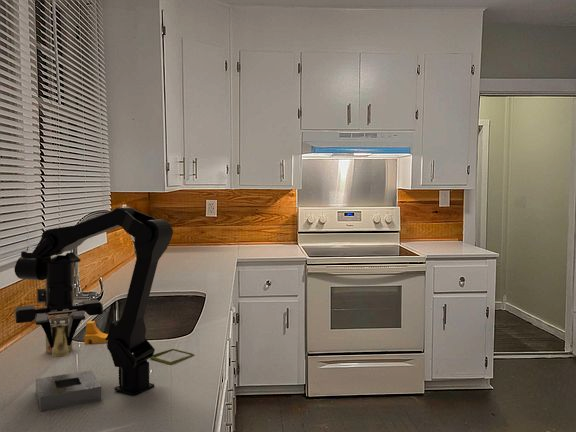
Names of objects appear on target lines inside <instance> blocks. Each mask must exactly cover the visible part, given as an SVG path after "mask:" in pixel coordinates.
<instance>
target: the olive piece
mask: <svg viewBox="0 0 576 432" xmlns="http://www.w3.org/2000/svg"><path fill="white" fill-rule="evenodd" d="M172 351H174V352H178V353H182V354H185V355H188V356H184V357H181V358H179V359H174V360H172V361H168V360H165V359H161V358H158V357H159V356H162V355H164V354H167V353H169V352H172ZM193 356H195V354H194V353H192V352H188V351H184V350H180V349H175V348H169V349H167V350H163V351H161V352H157V353H155V354H153V357H152V358H150V359H151V360H153V361H157V362H160V363H165V364H168V365H173V364H176V363H178V362H180V361H183V360H185V359H189V358H191V357H193Z"/></svg>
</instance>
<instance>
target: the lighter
mask: <svg viewBox="0 0 576 432" xmlns="http://www.w3.org/2000/svg"><path fill="white" fill-rule="evenodd" d="M49 321H50V326H51V333H52V326H54V325H58V324H67V325H68V330H69V315H67V316H57V317H56V316H50V319H49ZM71 351H73V341H72V342H71V345H70V346H68V353H69V352H71ZM45 353H46V354H52V348H51V347H50V345H49V342H48V339H47V336H46V335H45Z"/></svg>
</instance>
